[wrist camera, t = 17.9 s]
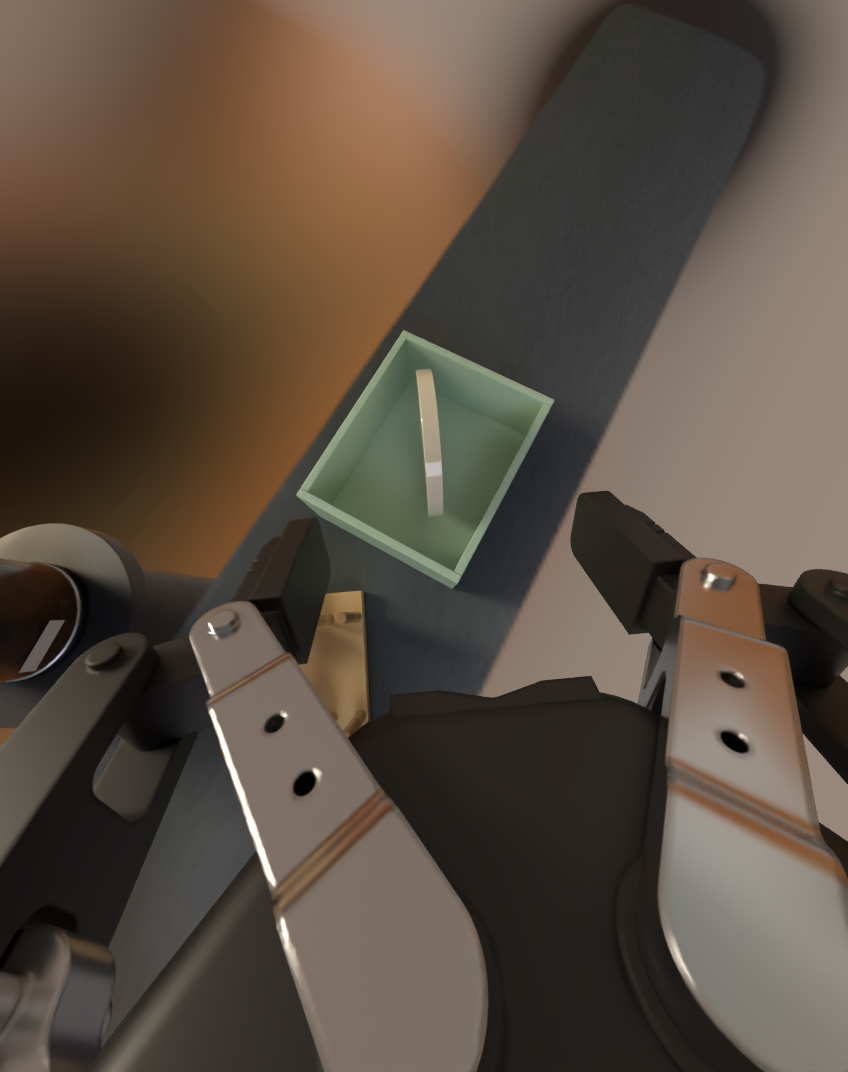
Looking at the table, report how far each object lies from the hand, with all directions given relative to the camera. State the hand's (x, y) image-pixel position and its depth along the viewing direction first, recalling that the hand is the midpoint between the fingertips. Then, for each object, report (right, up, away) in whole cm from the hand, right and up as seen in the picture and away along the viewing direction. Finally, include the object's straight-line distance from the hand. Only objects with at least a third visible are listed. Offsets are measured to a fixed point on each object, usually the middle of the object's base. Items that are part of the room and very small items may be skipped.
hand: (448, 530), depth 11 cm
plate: (0, +6, +14) cm, 15 cm away
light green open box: (0, +5, +20) cm, 20 cm away
